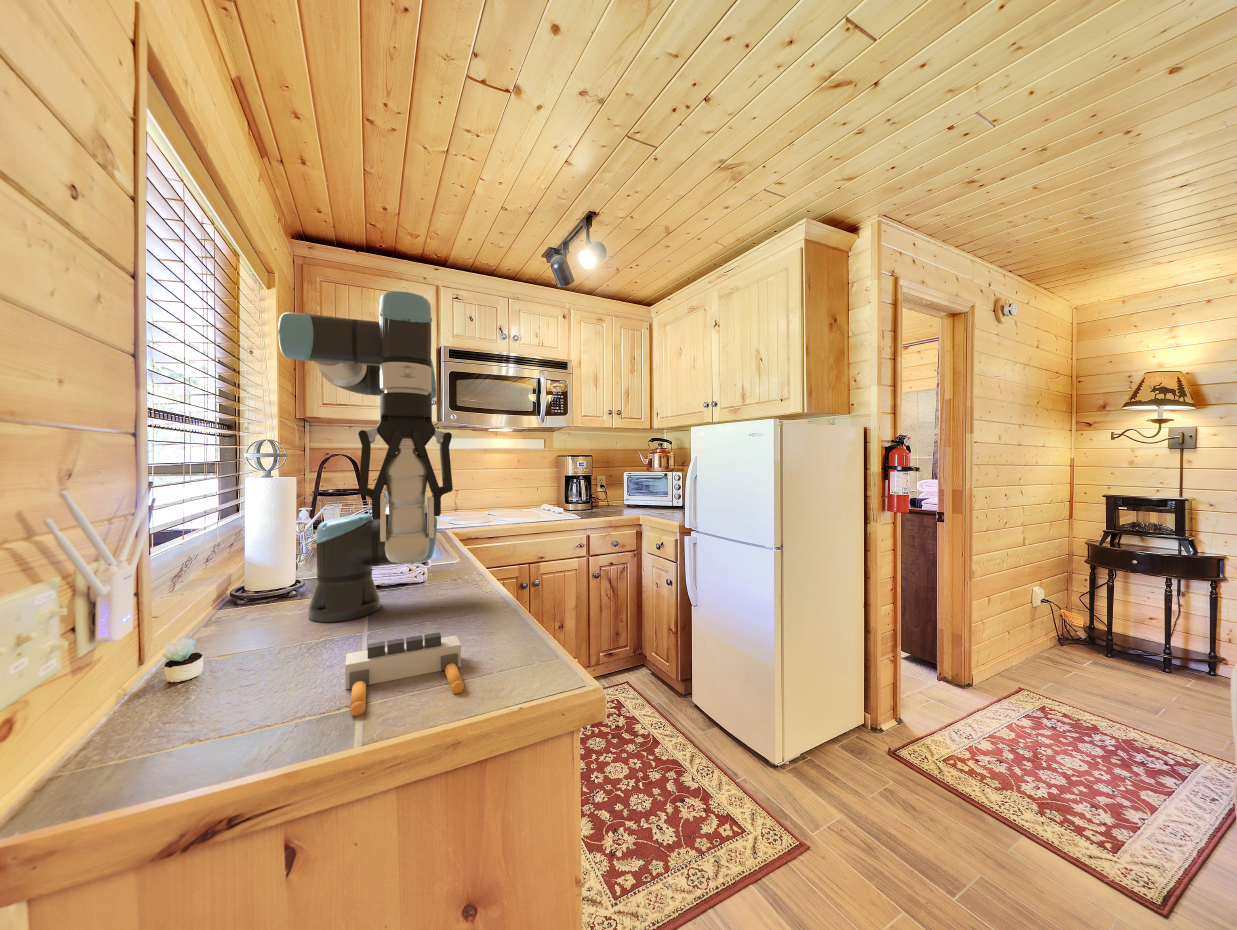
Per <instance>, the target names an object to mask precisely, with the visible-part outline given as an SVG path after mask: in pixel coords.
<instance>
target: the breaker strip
mask: <svg viewBox="0 0 1237 930" xmlns="http://www.w3.org/2000/svg"><path fill="white" fill-rule="evenodd" d="M423 635H424V637H423ZM386 643H387V644H386ZM345 658H346V659H345V664H344V666H345V667H344V668H345V669H344V672H345V673H344V674H345V675H344V677H345V682H344V683H345V687H344V688H345V690H349V689H352V687H353V685H354V684H355V683H356V682H358V681H363V682H365V684H366V686H370V685H375V684H379V683H384V682H390V681H395V680H400V679H406V678H410V677H416V676H420V675H424V674H425V675H427V674H431V673H436V672H441V671H445V668H446V666H447V665H448V664H451V663H452V664H455V665H456V666H457V668H461V667H462V646H461V642H460V640H459V638H458V636H457V635H451V636H445V637H442V635H441V632H435V633H434V632H432V633H427V634H422V635H415V636H409V637H406V638H404V637H401V638H396V639H389V640H387V641H377V642H371V643H367V650H359V651H354V652H348V653H346V657H345Z"/></svg>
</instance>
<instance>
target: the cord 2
mask: <svg viewBox="0 0 1237 930" xmlns="http://www.w3.org/2000/svg"><path fill="white" fill-rule="evenodd" d="M444 673H445V676H446V679H447V681H448V685H449V688H450V690H451V693H452V694H454V695H459V694H461V693H462V692H463V691H464V687H465V684H464V682H463V679H462V676H461V674H460V672H459V669H458V667H457V666H456V665H455V664H452V663H451V664H448V665H447V666H446V668H445V670H444Z"/></svg>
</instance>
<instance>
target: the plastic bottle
mask: <svg viewBox="0 0 1237 930" xmlns="http://www.w3.org/2000/svg"><path fill="white" fill-rule="evenodd" d="M397 449H398V451H397V452H396V454H395V457H394V458H392V460H391V461H390V462H389V464H388V465H387V468H386V471H385V472H386V477H387V479H386V482H385V487H386V493H387V505H388V504H389V518H388V532H387V533H388V534H387V536H386V541H385V553H386V557H387V558H388V560H389V561H390V562H395V563H404V564H403V565H407V563H410V564H411V563H412V562H416V561H419V560H422V559H424V558H425V557H426V556H427V554H428V551H429V538H428V534H427V532H426V520H425V505H426V491H427V485H428V482H427V469H426V466H425V464H424V463H423V461H422V460H421V459H420V456H419V454H418V452H416V449H417V447H416V444H415V441H414V439H413V437H401V440H400V443H399V446H398V448H397ZM424 504H425V505H424Z"/></svg>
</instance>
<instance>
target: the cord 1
mask: <svg viewBox="0 0 1237 930" xmlns="http://www.w3.org/2000/svg"><path fill="white" fill-rule="evenodd" d="M366 697H367V685H366V684H365V682H363V681H358V682H356V683H355V684H354V685H353V687H352V688H351V696H350V706H349V709H350V710H349V712H350V714H351V715H352V716H354V717H358V716H361V715H363V714H364V712H365V710H366V705H367V703H366V702H367V698H366Z"/></svg>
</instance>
